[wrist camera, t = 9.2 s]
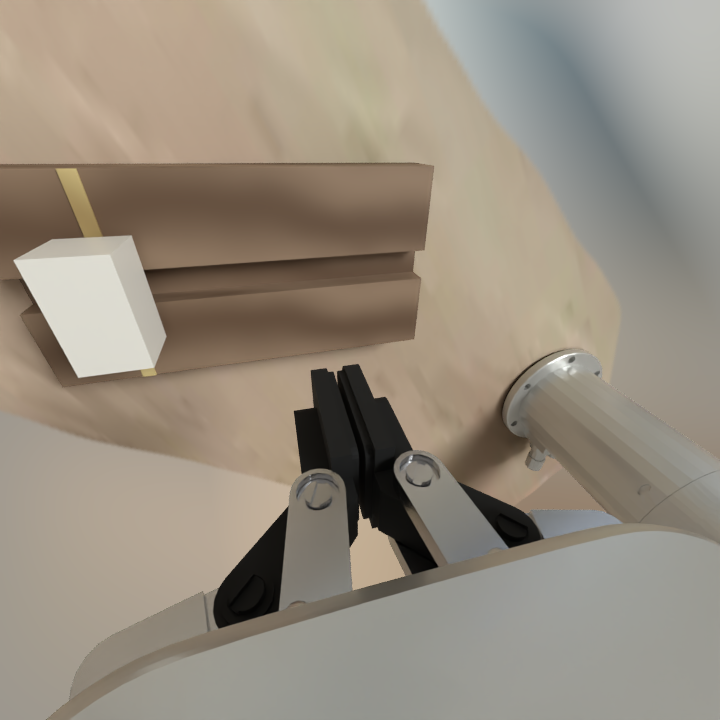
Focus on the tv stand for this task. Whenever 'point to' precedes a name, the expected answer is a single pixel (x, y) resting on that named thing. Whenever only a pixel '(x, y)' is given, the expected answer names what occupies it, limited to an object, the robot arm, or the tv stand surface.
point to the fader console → (236, 251)
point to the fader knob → (96, 302)
